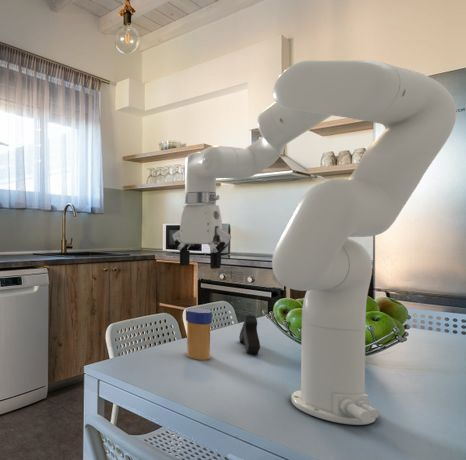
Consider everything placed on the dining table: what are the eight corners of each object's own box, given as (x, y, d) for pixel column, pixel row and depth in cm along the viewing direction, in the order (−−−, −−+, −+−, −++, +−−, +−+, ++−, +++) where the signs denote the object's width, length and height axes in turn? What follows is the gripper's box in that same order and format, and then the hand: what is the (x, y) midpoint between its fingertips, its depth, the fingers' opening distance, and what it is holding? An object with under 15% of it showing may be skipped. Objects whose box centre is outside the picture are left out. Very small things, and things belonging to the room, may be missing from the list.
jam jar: (213, 360, 101) (214, 314, 101) (191, 359, 101) (192, 314, 101) (204, 353, 107) (205, 310, 107) (183, 353, 107) (184, 310, 107)
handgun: (248, 347, 104) (244, 312, 109) (241, 365, 114) (238, 331, 120) (261, 348, 103) (256, 312, 109) (252, 366, 113) (248, 332, 119)
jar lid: (216, 324, 101) (216, 313, 101) (191, 323, 101) (191, 312, 101) (205, 318, 107) (205, 308, 107) (182, 318, 107) (182, 308, 107)
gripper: (239, 199, 99) (239, 269, 99) (182, 203, 113) (182, 263, 113) (220, 197, 95) (220, 270, 95) (164, 201, 109) (163, 264, 109)
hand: (199, 266), depth 104 cm, fingers open, 9 cm apart
